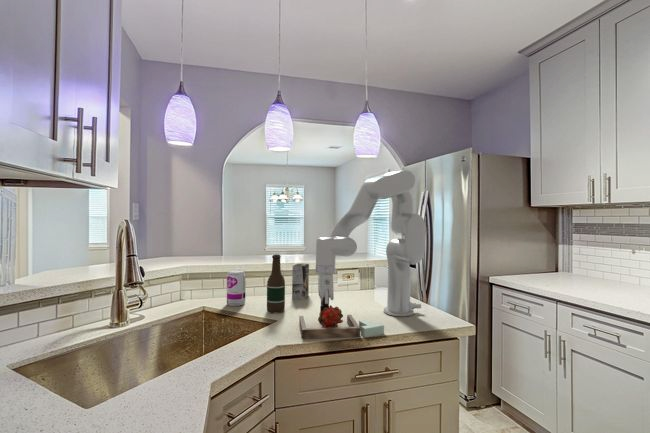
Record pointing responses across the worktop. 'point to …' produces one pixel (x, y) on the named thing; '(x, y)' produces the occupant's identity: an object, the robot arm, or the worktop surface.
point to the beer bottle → (276, 288)
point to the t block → (370, 328)
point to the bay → (330, 330)
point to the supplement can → (236, 287)
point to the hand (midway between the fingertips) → (324, 316)
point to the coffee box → (300, 281)
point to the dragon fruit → (330, 317)
